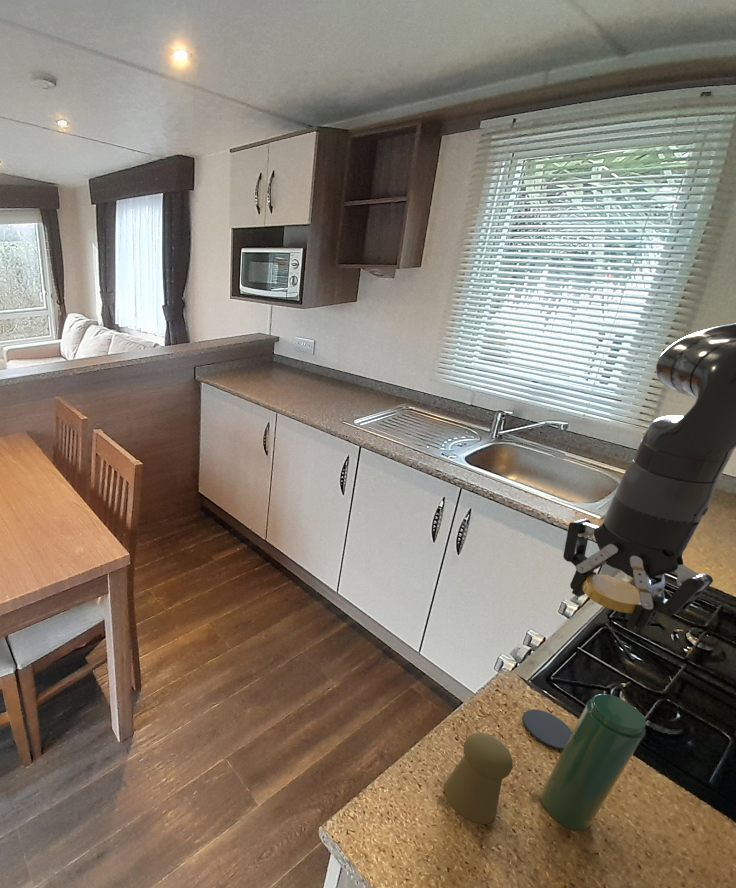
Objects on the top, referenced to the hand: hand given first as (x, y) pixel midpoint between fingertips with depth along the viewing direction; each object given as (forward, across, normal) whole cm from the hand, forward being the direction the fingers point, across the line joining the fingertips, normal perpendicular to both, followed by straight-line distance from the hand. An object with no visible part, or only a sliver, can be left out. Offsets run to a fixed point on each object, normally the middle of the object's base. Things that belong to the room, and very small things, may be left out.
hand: (605, 609), depth 64 cm
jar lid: (-3, 0, 0) cm, 3 cm away
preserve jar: (+24, +8, -10) cm, 27 cm away
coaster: (+24, 0, 0) cm, 24 cm away
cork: (+25, +3, -20) cm, 32 cm away
